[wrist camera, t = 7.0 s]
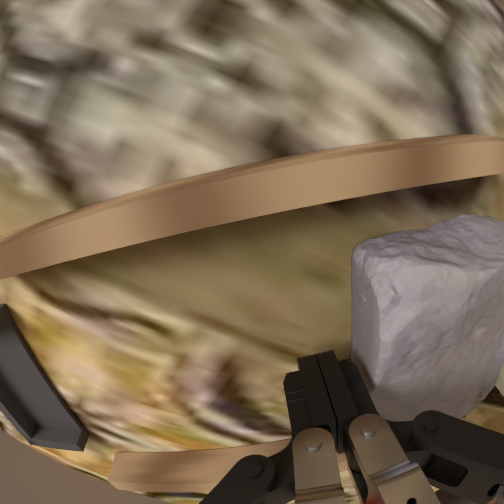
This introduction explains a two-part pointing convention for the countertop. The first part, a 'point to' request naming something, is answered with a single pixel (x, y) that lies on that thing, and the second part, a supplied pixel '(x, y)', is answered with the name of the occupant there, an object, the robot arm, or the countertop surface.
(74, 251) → the channel
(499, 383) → the u-shaped green frame
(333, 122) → the countertop surface
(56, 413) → the dark gray shallow tray
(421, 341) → the stone block
